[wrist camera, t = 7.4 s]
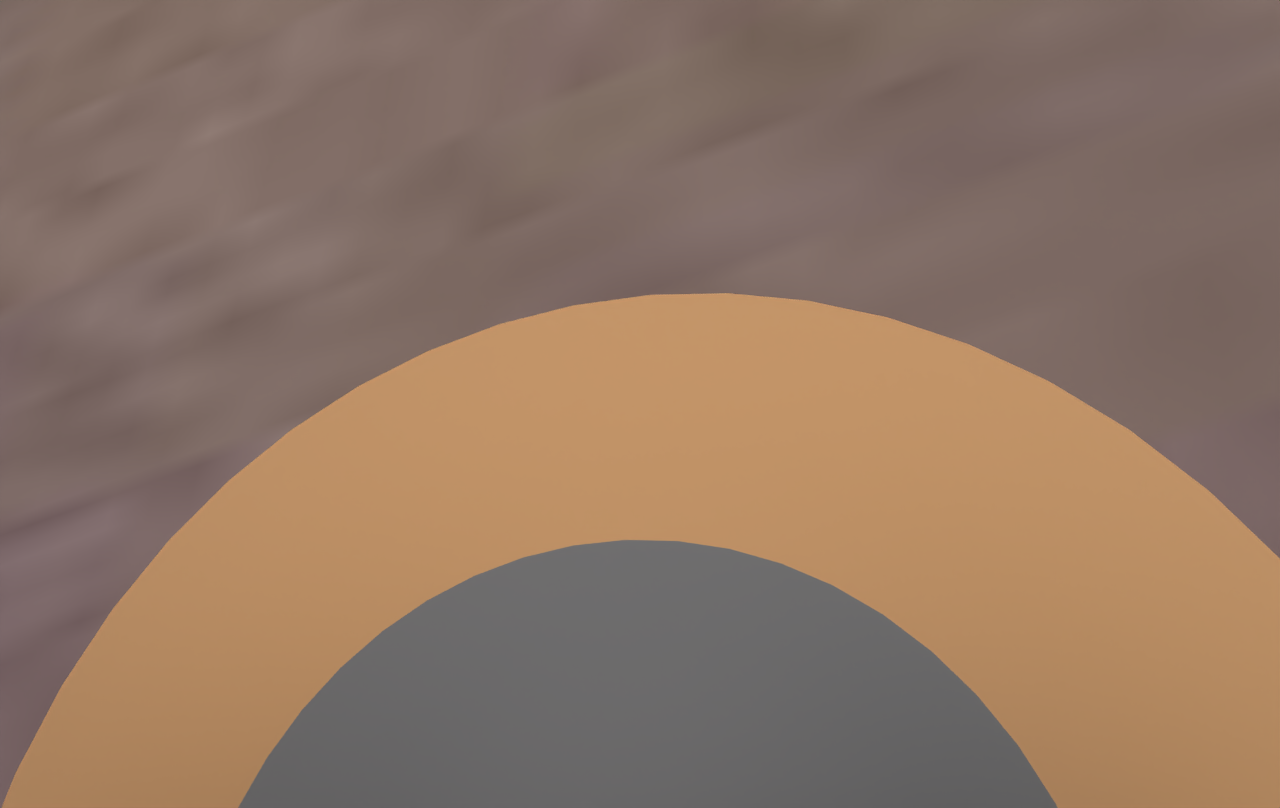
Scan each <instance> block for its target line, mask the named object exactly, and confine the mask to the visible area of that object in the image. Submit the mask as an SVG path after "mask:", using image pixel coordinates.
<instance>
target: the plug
mask: <svg viewBox="0 0 1280 808" xmlns="http://www.w3.org/2000/svg"><path fill="white" fill-rule="evenodd" d="M2 808H1280V558H1278V557H1277V556H1276V555H1275V554H1274V553H1273V552H1272V551H1271V550H1270V549H1269V548H1268V547H1267V546H1266V545H1265V544H1264V543H1263V542H1262V541H1261V540H1260V539H1259V538H1258V537H1257V536H1256V535H1254V534H1253V533H1252V532H1251V531H1250V530H1249V529H1248V528H1247V527H1246V526H1245V525H1244V524H1243V523H1242V522H1241V521H1240V520H1239V519H1238V518H1237V517H1236V516H1235V515H1234V514H1233V513H1232V512H1230V511H1229V510H1228V509H1227V508H1226V507H1225V506H1224V505H1223V504H1222V503H1221V502H1220V501H1219V500H1218V499H1217V498H1216V497H1215V496H1214V495H1213V494H1212V493H1211V492H1210V491H1208V490H1207V489H1206V488H1204V487H1203V486H1202V485H1201V484H1199V483H1198V482H1197V481H1195V480H1194V479H1193V478H1191V477H1190V476H1189V475H1188V474H1186V473H1185V472H1184V471H1182V470H1181V469H1180V468H1178V467H1177V466H1176V465H1175V464H1173V463H1172V462H1171V461H1169V460H1168V459H1167V458H1165V457H1164V456H1163V455H1161V454H1160V453H1159V452H1158V451H1156V450H1155V449H1154V448H1152V447H1151V446H1150V445H1148V444H1147V443H1146V442H1145V441H1143V440H1142V439H1141V438H1139V437H1138V436H1137V435H1135V434H1134V433H1133V432H1131V431H1130V430H1129V429H1127V428H1125V427H1124V426H1122V425H1120V424H1119V423H1117V422H1115V421H1114V420H1112V419H1110V418H1109V417H1107V416H1105V415H1104V414H1102V413H1100V412H1099V411H1097V410H1096V409H1094V408H1092V407H1091V406H1089V405H1087V404H1086V403H1084V402H1082V401H1081V400H1079V399H1077V398H1076V397H1074V396H1072V395H1071V394H1069V393H1067V392H1066V391H1064V390H1062V389H1061V388H1059V387H1057V386H1056V385H1054V384H1053V383H1051V382H1049V381H1047V380H1045V379H1043V378H1040V377H1038V376H1036V375H1034V374H1032V373H1030V372H1027V371H1025V370H1023V369H1021V368H1019V367H1017V366H1014V365H1012V364H1010V363H1008V362H1006V361H1004V360H1001V359H999V358H997V357H995V356H993V355H991V354H988V353H986V352H984V351H982V350H980V349H978V348H975V347H973V346H971V345H969V344H966V343H963V342H960V341H957V340H954V339H951V338H948V337H945V336H942V335H939V334H936V333H933V332H930V331H927V330H924V329H921V328H918V327H915V326H912V325H909V324H906V323H903V322H900V321H897V320H894V319H891V318H888V317H883V316H878V315H873V314H868V313H864V312H859V311H854V310H849V309H845V308H840V307H835V306H830V305H825V304H821V303H816V302H811V301H805V300H794V299H784V298H773V297H762V296H751V295H741V294H730V293H721V294H674V295H647V296H639V297H632V298H625V299H617V300H610V301H602V302H595V303H588V304H580V305H574V306H570V307H566V308H562V309H558V310H554V311H550V312H546V313H542V314H538V315H534V316H530V317H526V318H522V319H518V320H514V321H510V322H506V323H502V324H499V325H496V326H494V327H491V328H488V329H486V330H483V331H480V332H478V333H475V334H472V335H470V336H467V337H464V338H462V339H459V340H456V341H454V342H451V343H448V344H446V345H443V346H440V347H438V348H435V349H432V350H430V351H427V352H425V353H423V354H421V355H419V356H417V357H415V358H413V359H411V360H409V361H407V362H405V363H403V364H402V365H400V366H398V367H396V368H394V369H392V370H390V371H388V372H386V373H384V374H382V375H380V376H378V377H376V378H374V379H372V380H370V381H368V382H366V383H364V384H362V385H360V386H358V387H357V388H355V389H354V390H352V391H350V392H349V393H347V394H346V395H344V396H343V397H341V398H340V399H338V400H337V401H335V402H334V403H332V404H330V405H329V406H327V407H326V408H324V409H323V410H321V411H320V412H318V413H317V414H315V415H314V416H312V417H310V418H309V419H307V420H306V421H304V422H303V423H301V424H300V425H298V426H297V427H295V428H294V429H292V430H291V431H289V432H288V433H287V434H286V435H285V436H283V437H282V438H281V439H280V440H278V441H277V442H276V443H275V444H273V445H272V446H271V447H270V448H269V449H267V450H266V451H265V452H264V453H262V454H261V455H260V456H259V457H257V458H256V459H255V460H254V461H252V462H251V463H250V464H249V465H248V466H246V467H245V468H244V469H243V470H241V471H240V472H239V473H238V474H236V475H235V476H234V477H233V478H232V479H230V480H229V481H228V482H227V483H226V484H225V485H224V486H223V487H222V488H221V489H220V490H219V491H218V492H217V493H216V494H215V495H214V496H213V497H212V498H211V499H210V500H209V501H208V502H207V503H206V504H205V505H204V506H203V507H202V508H201V509H200V510H199V511H198V512H197V513H196V514H195V515H194V516H193V517H192V518H191V519H190V520H189V521H188V522H187V523H186V524H185V525H184V526H183V527H182V528H181V529H180V530H179V531H178V532H177V533H176V534H175V535H174V536H173V537H172V538H171V539H170V540H169V541H168V542H167V543H166V545H165V546H164V547H163V548H162V549H161V551H160V552H159V553H158V554H157V556H156V557H155V558H154V559H153V560H152V562H151V563H150V564H149V565H148V567H147V568H146V569H145V570H144V571H143V573H142V574H141V575H140V576H139V578H138V579H137V580H136V581H135V583H134V584H133V585H132V586H131V587H130V589H129V590H128V591H127V592H126V594H125V595H124V596H123V597H122V598H121V600H120V601H119V602H118V603H117V605H116V606H115V607H114V608H113V610H112V611H111V613H110V614H109V616H108V617H107V619H106V620H105V622H104V623H103V625H102V626H101V628H100V629H99V631H98V632H97V634H96V635H95V637H94V638H93V640H92V641H91V643H90V644H89V646H88V647H87V649H86V650H85V652H84V653H83V655H82V656H81V658H80V659H79V661H78V662H77V664H76V665H75V667H74V668H73V670H72V671H71V673H70V674H69V676H68V677H67V679H66V680H65V682H64V683H63V685H62V687H61V688H60V690H59V692H58V694H57V696H56V698H55V700H54V702H53V704H52V705H51V707H50V709H49V711H48V713H47V715H46V717H45V719H44V721H43V722H42V724H41V726H40V728H39V730H38V732H37V734H36V736H35V737H34V739H33V741H32V743H31V745H30V747H29V749H28V751H27V753H26V754H25V756H24V758H23V760H22V762H21V764H20V766H19V768H18V770H17V771H16V774H15V776H14V779H13V781H12V784H11V786H10V788H9V791H8V793H7V796H6V798H5V801H4V803H3V805H2Z"/></svg>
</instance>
